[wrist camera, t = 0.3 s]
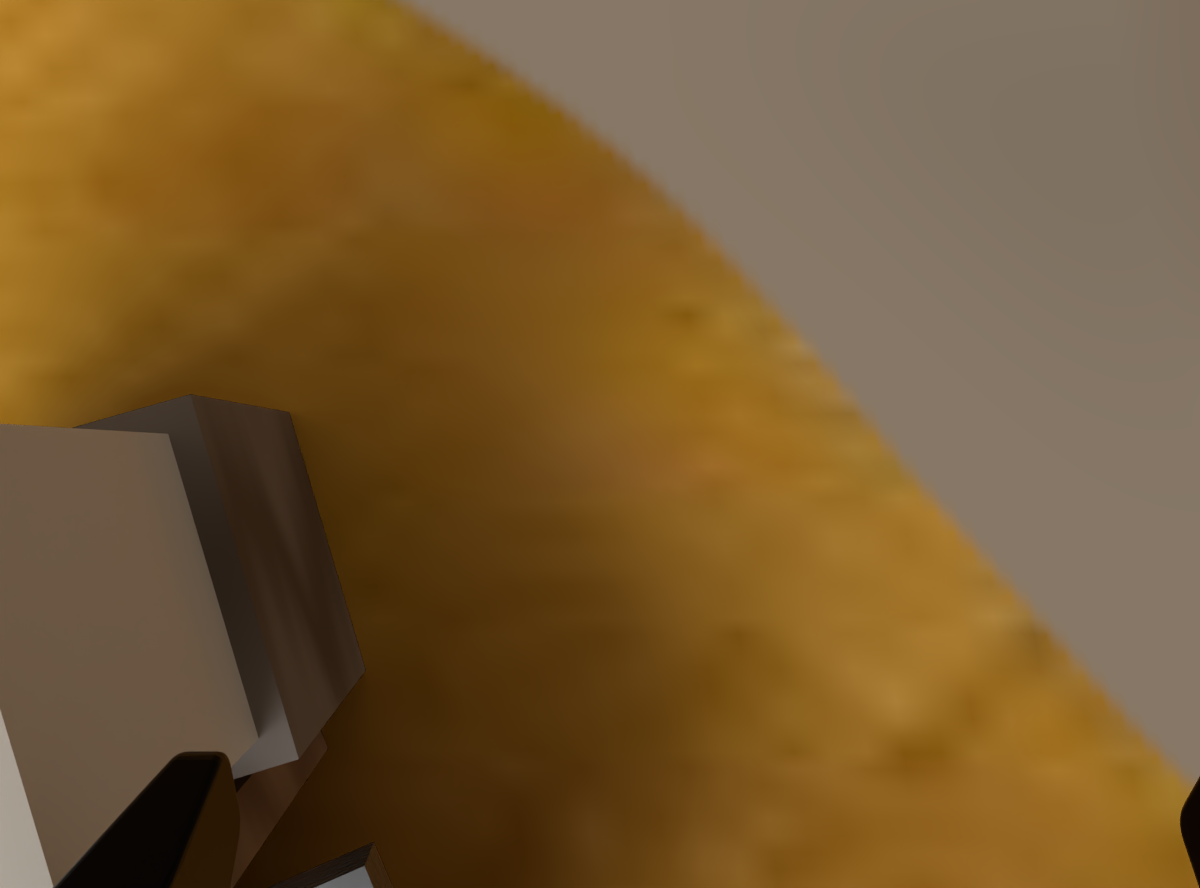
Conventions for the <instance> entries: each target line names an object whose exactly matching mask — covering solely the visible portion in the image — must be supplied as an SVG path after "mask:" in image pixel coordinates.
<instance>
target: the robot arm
mask: <svg viewBox="0 0 1200 888" xmlns="http://www.w3.org/2000/svg"><path fill="white" fill-rule="evenodd" d="M1180 827H1181V833H1182V837H1183V840H1184V843H1185V846H1186V849H1187V852H1188V855H1189V858H1190V861H1191V864H1192V867H1193V870H1194V873H1195V876H1196V879H1197V882H1198V885H1199V888H1200V777H1199V779H1198V781H1197V782H1196V784H1195V786H1194V788H1193V789H1192V791H1191V793H1190V795H1189V797H1188V798H1187V800H1186V802H1185V804H1184V806H1183V808H1182V811H1181V816H1180ZM239 834H240V808H239V803H238V798H237V793H236V788H235V784H234V779H233V774H232V769H231V764H230V761H229V758H228V757H227V755H226V754H225V753H223V752H219V751H186V752H181V753H179V754H177V755H176V756H174V757H173V758H172V759H171V760H170V761H169V762H168V763H167V764H166V765H165V766H164V767H163V768H162V769H161V771H160V772H159V773H158V774H157V775H156V776H155V777H154V778H153V779H152V780H151V781H150V783H149V784H148V785H147V786H146V787H145V788H144V789H143V790H142V791H141V792H140V793H139V794H138V796H137V797H136V798H135V799H134V800H133V801H132V802H131V803H130V804H129V805H128V806H127V808H126V809H125V810H124V811H123V812H122V813H121V814H120V815H119V816H118V817H117V818H116V820H115V821H114V822H113V823H112V824H111V825H110V826H109V827H108V828H107V829H106V830H105V831H104V833H103V834H102V835H101V836H100V837H99V838H98V839H97V840H96V841H95V842H94V843H93V845H92V846H91V847H90V848H89V849H88V850H87V851H86V852H85V853H84V854H83V855H82V857H81V858H80V859H79V860H78V861H77V862H76V863H75V864H74V865H73V866H72V867H71V868H70V870H69V871H68V872H67V873H66V874H65V875H64V876H63V877H62V878H61V879H60V880H59V882H58V883H57V884H56V885H55V886H54V887H53V888H230V886H231V881H232V875H233V869H234V864H235V858H236V852H237V846H238V841H239Z"/></svg>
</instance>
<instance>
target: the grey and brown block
mask: <svg viewBox="0 0 1200 888" xmlns="http://www.w3.org/2000/svg"><path fill="white" fill-rule="evenodd" d="M269 888H393V886H392V884H391V881H390V879H389V877H388V874H387V872H386V869H385V867H384V865H383V862H382V860H381V857H380V855H379V853H378V850H377V848H376V845H375V843H374V842H372V843H370V844H368V845H366V846H363V847H361V848H359V849H356V850H354V851H352V852H349V853H347V854H345V855H342V856H340V857H338V858H336V859H333V860H331V861H329V862H326V863H324V864H322V865H319V866H317V867H315V868H312V869H310V870H308V871H305V872H303V873H301V874H299V875H296V876H294V877H292V878H289V879H287V880H285V881H282V882H280V883H278V884H275V885H273V886H271V887H269Z"/></svg>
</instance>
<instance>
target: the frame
mask: <svg viewBox="0 0 1200 888" xmlns="http://www.w3.org/2000/svg"><path fill="white" fill-rule="evenodd" d="M327 749H328V747H327V745H326V743H325V740H324V738H323V735H322V733H321V731H320V732H319V733H318V734H317V736H316V737H315V738H314V740H313V741H312V742H311V744H310V745H309V746H308V748H307V749H306V750H305V752H304V753H303V754H302V756H301V757H300V758H299V759H298V760H295V761H291V762H288V763H285V764H282V765H278V766H275V767H272V768H269V769H265V770H262V771H259V772H256V773H252V774H249V775H246V776H243V777H240V778H236V779H234V784H235V788H236V793H237V798H238V803H239V808H240V834H239V841H238V846H237V852H236V858H235V864H234V869H233V875H232V881H231V886H230V888H233V887H234V886H235V884H236V883H237V881H238V880H239V878H240V877H241V875H242V874H243V872H244V871H245V869H246V868H247V867H248V865H249V864H250V862H251V861H252V859H253V858H254V856H255V855H256V853H257V852H258V850H259V849H260V847H261V846H262V844H263V843H264V842H265V840H266V839H267V837H268V836H269V834H270V833H271V831H272V830H273V828H274V827H275V825H276V824H277V822H278V821H279V820H280V818H281V817H282V815H283V814H284V812H285V811H286V809H287V808H288V806H289V805H290V803H291V802H292V800H293V799H294V798H295V796H296V795H297V793H298V792H299V790H300V789H301V787H302V786H303V784H304V783H305V781H306V780H307V778H308V777H309V775H310V774H311V773H312V771H313V770H314V768H315V767H316V765H317V764H318V762H319V761H320V759H321V758H322V756H323V755H324V753H325V752H326V751H327Z"/></svg>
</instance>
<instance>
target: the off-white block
mask: <svg viewBox="0 0 1200 888" xmlns="http://www.w3.org/2000/svg"><path fill="white" fill-rule="evenodd" d="M258 739H259V738H258V734H257V731H256V727H255V724H254V721H253V717H252V714H251V711H250V707H249V704H248V701H247V697H246V694H245V691H244V687H243V684H242V680H241V677H240V674H239V670H238V667H237V664H236V660H235V657H234V654H233V650H232V647H231V644H230V640H229V637H228V633H227V630H226V627H225V623H224V620H223V617H222V613H221V610H220V607H219V603H218V600H217V596H216V593H215V590H214V586H213V583H212V580H211V576H210V573H209V570H208V566H207V563H206V560H205V556H204V553H203V549H202V546H201V543H200V539H199V536H198V533H197V529H196V526H195V523H194V519H193V516H192V512H191V509H190V506H189V502H188V499H187V496H186V492H185V489H184V486H183V482H182V479H181V476H180V472H179V469H178V465H177V462H176V459H175V455H174V452H173V449H172V445H171V442H170V439H169V435H168V434H163V433H146V432H129V431H112V430H95V429H78V428H62V427H45V426H28V425H11V424H0V888H53V887H54V886H55V885H56V884H57V883H58V882H59V880H60V879H61V878H62V877H63V876H64V875H65V874H66V873H67V872H68V871H69V870H70V868H71V867H72V866H73V865H74V864H75V863H76V862H77V861H78V860H79V859H80V858H81V857H82V855H83V854H84V853H85V852H86V851H87V850H88V849H89V848H90V847H91V846H92V845H93V843H94V842H95V841H96V840H97V839H98V838H99V837H100V836H101V835H102V834H103V833H104V831H105V830H106V829H107V828H108V827H109V826H110V825H111V824H112V823H113V822H114V821H115V820H116V818H117V817H118V816H119V815H120V814H121V813H122V812H123V811H124V810H125V809H126V808H127V806H128V805H129V804H130V803H131V802H132V801H133V800H134V799H135V798H136V797H137V796H138V794H139V793H140V792H141V791H142V790H143V789H144V788H145V787H146V786H147V785H148V784H149V783H150V781H151V780H152V779H153V778H154V777H155V776H156V775H157V774H158V773H159V772H160V771H161V769H162V768H163V767H164V766H165V765H166V764H167V763H168V762H169V761H170V760H171V759H172V758H173V757H174V756H176V755H177V754H179V753H181V752H186V751H219V752H223V753H225V754H226V755H227V757H228V758H229V761H230V764H231V767H232V766H233V765H234V764H235V763H236V762H237V761H238V760H239V759H240V758H241V757H242V756H243V754H244V753H245V752H246V751H247V750H248V749H249V748H250V747H251V746H252V745H253V744H254V743H255V742H256V741H257V740H258Z"/></svg>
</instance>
